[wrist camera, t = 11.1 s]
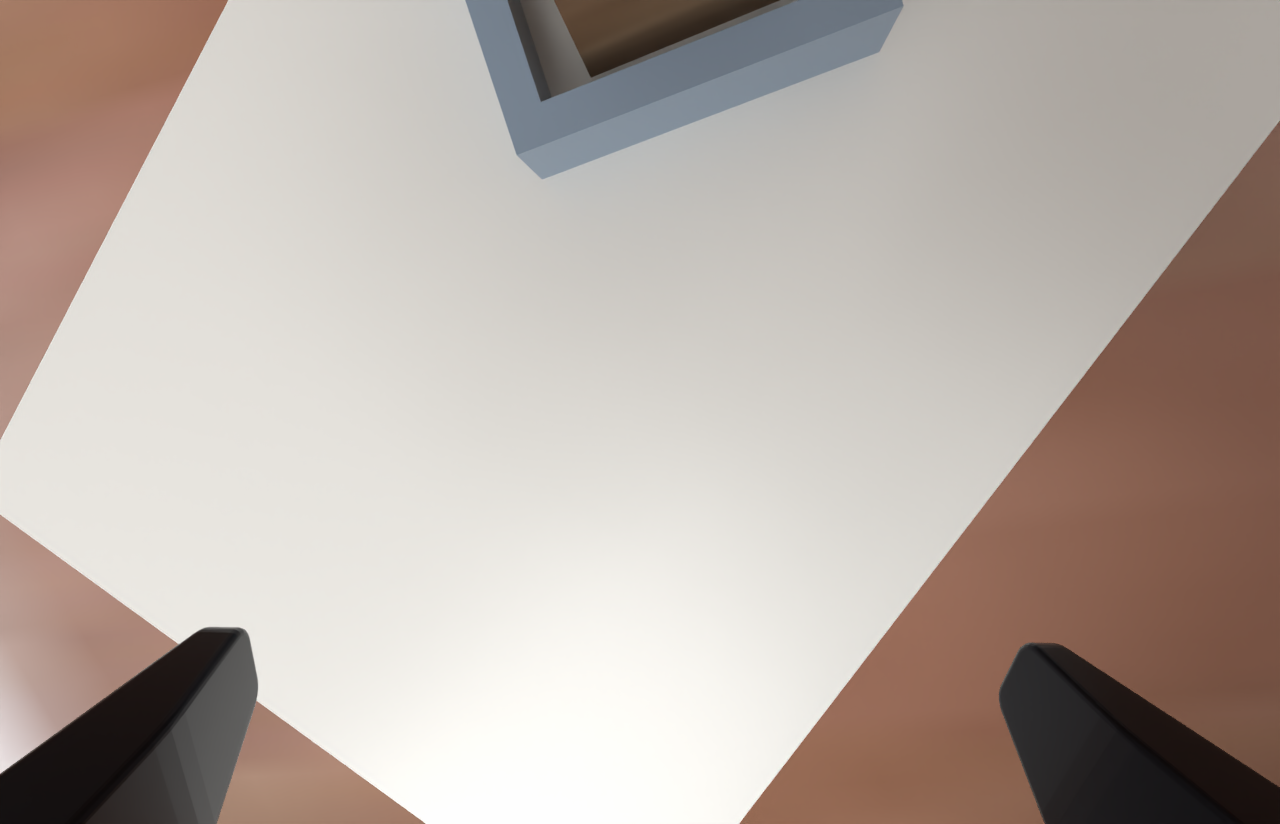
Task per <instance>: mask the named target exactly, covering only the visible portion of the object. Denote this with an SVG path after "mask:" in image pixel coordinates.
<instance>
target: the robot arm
mask: <svg viewBox="0 0 1280 824" xmlns="http://www.w3.org/2000/svg"><path fill="white" fill-rule="evenodd" d="M257 695H258V677H257V672H256V667H255V662H254V657H253V652H252V647H251V642H250V638H249V635H248V633H247V631H246V630H245V629H243V628H240V627H206V628H203V629H200V630H198V631H197V632H195V633H194V634H192V635H191V636H190V637H188V638H187V639H185V640H184V641H183V642H181V643H180V644H178V645H177V646H176V647H174V648H173V649H172V650H170V651H169V652H167V653H166V654H165V655H163V656H162V657H161V658H159V659H158V660H156V661H155V662H154V663H152V664H151V665H150V666H148V667H147V668H145V669H144V670H143V671H141V672H140V673H138V674H137V675H136V676H134V677H133V678H132V679H130V680H129V681H127V682H126V683H125V684H123V685H122V686H121V687H119V688H118V689H116V690H115V691H114V692H112V693H111V694H110V695H108V696H107V697H105V698H104V699H103V700H101V701H100V702H99V703H97V704H96V705H94V706H93V707H92V708H90V709H89V710H87V711H86V712H85V713H83V714H82V715H81V716H79V717H78V718H76V719H75V720H74V721H72V722H71V723H70V724H68V725H67V726H65V727H64V728H63V729H61V730H60V731H59V732H57V733H56V734H54V735H53V736H52V737H50V738H49V739H47V740H46V741H45V742H43V743H42V744H41V745H39V746H38V747H36V748H35V749H34V750H32V751H31V752H30V753H28V754H27V755H25V756H24V757H23V758H21V759H20V760H19V761H17V762H16V763H14V764H13V765H12V766H10V767H9V768H8V769H6V770H5V771H3V772H2V773H1V774H0V824H217V821H218V818H219V815H220V812H221V809H222V806H223V802H224V799H225V796H226V793H227V790H228V787H229V784H230V781H231V778H232V775H233V772H234V769H235V766H236V763H237V759H238V756H239V753H240V750H241V747H242V744H243V741H244V738H245V735H246V732H247V729H248V726H249V723H250V720H251V716H252V713H253V710H254V707H255V704H256V700H257ZM999 702H1000V707H1001V711H1002V714H1003V716H1004V719H1005V721H1006V724H1007V727H1008V729H1009V732H1010V734H1011V737H1012V740H1013V742H1014V745H1015V748H1016V750H1017V753H1018V755H1019V758H1020V761H1021V763H1022V766H1023V769H1024V771H1025V774H1026V776H1027V779H1028V782H1029V784H1030V787H1031V789H1032V792H1033V795H1034V797H1035V800H1036V803H1037V805H1038V808H1039V810H1040V813H1041V816H1042V818H1043V820H1044V823H1045V824H1280V787H1278V786H1277V785H1275V784H1274V783H1272V782H1271V781H1269V780H1268V779H1266V778H1264V777H1263V776H1261V775H1260V774H1258V773H1257V772H1255V771H1254V770H1252V769H1251V768H1249V767H1248V766H1246V765H1245V764H1243V763H1242V762H1240V761H1238V760H1237V759H1235V758H1234V757H1232V756H1231V755H1229V754H1228V753H1226V752H1225V751H1223V750H1222V749H1220V748H1219V747H1217V746H1215V745H1214V744H1212V743H1211V742H1209V741H1208V740H1206V739H1205V738H1203V737H1202V736H1200V735H1199V734H1197V733H1196V732H1194V731H1193V730H1191V729H1190V728H1188V727H1186V726H1185V725H1183V724H1182V723H1180V722H1179V721H1177V720H1176V719H1174V718H1173V717H1171V716H1170V715H1168V714H1167V713H1165V712H1164V711H1162V710H1160V709H1159V708H1157V707H1156V706H1154V705H1153V704H1151V703H1150V702H1148V701H1147V700H1145V699H1144V698H1142V697H1141V696H1139V695H1138V694H1136V693H1134V692H1133V691H1131V690H1130V689H1128V688H1127V687H1125V686H1124V685H1122V684H1121V683H1119V682H1118V681H1116V680H1115V679H1113V678H1112V677H1110V676H1109V675H1107V674H1105V673H1104V672H1102V671H1101V670H1099V669H1098V668H1096V667H1095V666H1093V665H1092V664H1090V663H1089V662H1087V661H1086V660H1084V659H1083V658H1081V657H1079V656H1078V655H1076V654H1075V653H1073V652H1072V651H1070V650H1069V649H1067V648H1066V647H1064V646H1062V645H1059V644H1055V643H1026V644H1025V645H1023V646H1022V647H1021V648H1020V649H1019V650H1018V652H1017V654H1016V656H1015V658H1014V660H1013V662H1012V664H1011V666H1010V668H1009V670H1008V672H1007V674H1006V676H1005V678H1004V680H1003V682H1002V684H1001V687H1000V691H999Z"/></svg>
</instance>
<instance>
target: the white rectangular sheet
mask: <svg viewBox="0 0 1280 824" xmlns="http://www.w3.org/2000/svg"><path fill="white" fill-rule="evenodd" d="M795 1H798V0H780V1H777V2H775V3H772V4H770V5H767V6H765V7H763V8H760V9H758V10H755V11H753V12H750V13H748V14H745V15H743V16H741V17H738V18H736V19H733V20H731V21H728V22H726V23H723V24H721V25H719V26H716V27H714V28H711V29H709V30H706V31H704V32H702V33H699V34H697V35H694V36H692V37H689V38H687V39H684V40H682V41H680V42H677V43H675V44H672V45H670V46H667V47H665V48H662V49H660V50H658V51H655V52H653V53H650V54H648V55H645V56H643V57H640V58H638V59H636V60H633V61H631V62H628V63H626V64H623V65H621V66H618V67H616V68H614V69H611V70H609V71H606V72H604V73H601V74H599V75H597V76H594V77H592V78H591V77H590V75H589V73H588V71H587V69H586V67H585V64H584V62H583V60H582V58H581V56H580V54H579V52H578V50H577V48H576V46H575V44H574V41H573V39H572V37H571V35H570V33H569V31H568V29H567V27H566V25H565V23H564V21H563V19H562V16H561V14H560V12H559V10H558V8H557V6H556V4H555V2H554V0H520V2H521V5H522V8H523V11H524V14H525V18H526V21H527V24H528V27H529V30H530V33H531V36H532V39H533V42H534V45H535V48H536V51H537V54H538V57H539V60H540V63H541V66H542V69H543V72H544V75H545V79H546V82H547V85H548V88H549V91H550V94H551V97H555V96H557V95H560V94H562V93H565V92H567V91H570V90H572V89H575V88H577V87H580V86H582V85H585V84H588V83H590V82H593V81H595V80H598V79H600V78H603V77H605V76H608V75H610V74H613V73H615V72H618V71H620V70H623V69H625V68H628V67H631V66H633V65H636V64H638V63H641V62H643V61H646V60H648V59H651V58H653V57H656V56H658V55H661V54H663V53H666V52H668V51H671V50H674V49H676V48H679V47H681V46H684V45H686V44H689V43H691V42H694V41H696V40H699V39H701V38H704V37H706V36H709V35H712V34H714V33H717V32H719V31H722V30H724V29H727V28H729V27H732V26H734V25H737V24H739V23H742V22H744V21H747V20H749V19H752V18H755V17H757V16H760V15H762V14H765V13H767V12H770V11H772V10H775V9H777V8H780V7H782V6H785V5H787V4H790V3H792V2H795ZM902 2H903V8H902V10H901V12H900V14H899V16H898V17H897V19H896V21H895V23H894V25H893V27H892V29H891V31H890V33H889V35H888V36H887V38H886V40H885V42H884V44H883V46H882V48H881V50H880V52H878V53H875V54H873V55H870V56H867V57H865V58H862V59H859V60H857V61H854V62H852V63H849V64H846V65H844V66H841V67H838V68H836V69H833V70H830V71H828V72H825V73H822V74H820V75H817V76H815V77H812V78H809V79H807V80H804V81H801V82H799V83H796V84H793V85H791V86H788V87H785V88H783V89H780V90H778V91H775V92H772V93H770V94H767V95H764V96H762V97H759V98H756V99H754V100H751V101H748V102H746V103H743V104H741V105H738V106H735V107H733V108H730V109H727V110H725V111H722V112H719V113H717V114H714V115H711V116H709V117H706V118H704V119H701V120H698V121H696V122H693V123H690V124H688V125H685V126H682V127H680V128H677V129H675V130H672V131H669V132H667V133H664V134H661V135H659V136H656V137H653V138H651V139H648V140H645V141H643V142H640V143H638V144H635V145H632V146H630V147H627V148H624V149H622V150H619V151H616V152H614V153H611V154H608V155H606V156H603V157H601V158H598V159H595V160H593V161H590V162H587V163H585V164H582V165H579V166H577V167H574V168H571V169H569V170H566V171H564V172H561V173H558V174H556V175H553V176H550V177H548V178H545V179H541V178H540V177H539V176H538V175H537V174H536V173H535V172H534V171H533V170H532V169H531V168H529V167H528V166H527V165H526V164H525V163H524V162H523V161H522V160H521V159H520V158H519V157H518V156H517V155H516V152H515V149H514V146H513V143H512V140H511V137H510V134H509V131H508V128H507V125H506V122H505V119H504V116H503V113H502V110H501V107H500V104H499V101H498V98H497V95H496V92H495V89H494V86H493V83H492V80H491V77H490V73H489V70H488V67H487V64H486V61H485V58H484V55H483V52H482V49H481V46H480V43H479V40H478V37H477V34H476V31H475V28H474V25H473V22H472V19H471V16H470V13H469V10H468V7H467V4H466V1H465V0H228V2H227V4H226V6H225V8H224V10H223V12H222V14H221V16H220V18H219V20H218V22H217V24H216V25H215V27H214V29H213V31H212V33H211V35H210V37H209V39H208V41H207V43H206V45H205V47H204V49H203V51H202V52H201V54H200V56H199V58H198V60H197V62H196V64H195V66H194V68H193V70H192V72H191V74H190V76H189V78H188V79H187V81H186V83H185V85H184V87H183V89H182V91H181V93H180V95H179V97H178V99H177V101H176V103H175V105H174V106H173V108H172V110H171V112H170V114H169V116H168V118H167V120H166V122H165V124H164V126H163V128H162V130H161V132H160V133H159V135H158V137H157V139H156V141H155V143H154V145H153V147H152V149H151V151H150V153H149V155H148V157H147V159H146V160H145V162H144V164H143V166H142V168H141V170H140V172H139V174H138V176H137V178H136V180H135V182H134V184H133V186H132V187H131V189H130V191H129V193H128V195H127V197H126V199H125V201H124V203H123V205H122V207H121V209H120V211H119V213H118V214H117V216H116V218H115V220H114V222H113V224H112V226H111V228H110V230H109V232H108V234H107V236H106V238H105V240H104V241H103V243H102V245H101V247H100V249H99V251H98V253H97V255H96V257H95V259H94V261H93V263H92V265H91V267H90V268H89V270H88V272H87V274H86V276H85V278H84V280H83V282H82V284H81V286H80V288H79V290H78V292H77V294H76V295H75V297H74V299H73V301H72V303H71V305H70V307H69V309H68V311H67V313H66V315H65V317H64V319H63V321H62V322H61V324H60V326H59V328H58V330H57V332H56V334H55V336H54V338H53V340H52V342H51V344H50V346H49V348H48V349H47V351H46V353H45V355H44V357H43V359H42V361H41V363H40V365H39V367H38V369H37V371H36V373H35V375H34V376H33V378H32V380H31V382H30V384H29V386H28V388H27V390H26V392H25V394H24V396H23V398H22V400H21V402H20V403H19V405H18V407H17V409H16V411H15V413H14V415H13V417H12V419H11V421H10V423H9V425H8V427H7V429H6V430H5V432H4V434H3V436H2V438H1V440H0V515H2V516H3V517H4V518H6V519H7V520H9V521H10V522H11V523H13V524H14V525H15V526H17V527H18V528H20V529H21V530H22V531H24V532H25V533H27V534H28V535H29V536H31V537H32V538H33V539H35V540H36V541H38V542H39V543H40V544H42V545H43V546H44V547H46V548H47V549H49V550H50V551H51V552H53V553H54V554H55V555H57V556H58V557H60V558H61V559H62V560H64V561H65V562H66V563H68V564H69V565H71V566H72V567H73V568H75V569H76V570H77V571H79V572H80V573H82V574H83V575H84V576H86V577H87V578H88V579H90V580H91V581H93V582H94V583H95V584H97V585H98V586H100V587H101V588H102V589H104V590H105V591H106V592H108V593H109V594H111V595H112V596H113V597H115V598H116V599H117V600H119V601H120V602H122V603H123V604H124V605H126V606H127V607H128V608H130V609H131V610H133V611H134V612H135V613H137V614H138V615H139V616H141V617H142V618H144V619H145V620H146V621H148V622H149V623H150V624H152V625H153V626H155V627H156V628H157V629H159V630H160V631H161V632H163V633H164V634H166V635H167V636H168V637H170V638H171V639H173V640H174V641H175V642H177V643H178V644H180V643H181V642H183V641H184V640H185V639H187V638H188V637H190V636H191V635H192V634H194V633H195V632H197V631H198V630H200V629H203V628H206V627H240V628H243V629H245V630H246V631H247V633H248V635H249V638H250V642H251V647H252V652H253V657H254V662H255V667H256V672H257V677H258V695H257V701H258V702H259V703H261V704H262V705H263V706H265V707H266V708H268V709H269V710H270V711H272V712H273V713H274V714H276V715H277V716H279V717H280V718H281V719H283V720H284V721H285V722H287V723H288V724H290V725H291V726H292V727H294V728H295V729H296V730H298V731H299V732H301V733H302V734H303V735H305V736H306V737H307V738H309V739H310V740H312V741H313V742H314V743H316V744H317V745H319V746H320V747H321V748H323V749H324V750H325V751H327V752H328V753H330V754H331V755H332V756H334V757H335V758H336V759H338V760H339V761H341V762H342V763H343V764H345V765H346V766H347V767H349V768H350V769H352V770H353V771H354V772H356V773H357V774H358V775H360V776H361V777H363V778H364V779H365V780H367V781H368V782H369V783H371V784H372V785H374V786H375V787H376V788H378V789H379V790H380V791H382V792H383V793H385V794H386V795H387V796H389V797H390V798H392V799H393V800H394V801H396V802H397V803H398V804H400V805H401V806H403V807H404V808H405V809H407V810H408V811H409V812H411V813H412V814H414V815H415V816H416V817H418V818H419V819H420V820H422V821H423V822H425V823H426V824H739V823H740V822H741V820H742V819H743V818H744V816H745V815H746V814H747V812H748V811H749V810H750V809H751V807H752V806H753V805H754V803H755V802H756V801H757V799H758V798H759V797H760V796H761V794H762V793H763V792H764V790H765V789H766V788H767V786H768V785H769V784H770V783H771V781H772V780H773V779H774V777H775V776H776V775H777V773H778V772H779V771H780V770H781V768H782V767H783V766H784V764H785V763H786V762H787V760H788V759H789V758H790V757H791V755H792V754H793V753H794V751H795V750H796V749H797V747H798V746H799V745H800V744H801V742H802V741H803V740H804V738H805V737H806V736H807V734H808V733H809V732H810V731H811V729H812V728H813V727H814V725H815V724H816V723H817V721H818V720H819V719H820V718H821V716H822V715H823V714H824V712H825V711H826V710H827V708H828V707H829V706H830V705H831V703H832V702H833V701H834V699H835V698H836V697H837V695H838V694H839V693H840V692H841V690H842V689H843V688H844V686H845V685H846V684H847V682H848V681H849V680H850V679H851V677H852V676H853V675H854V673H855V672H856V671H857V669H858V668H859V667H860V666H861V664H862V663H863V662H864V660H865V659H866V658H867V656H868V655H869V654H870V653H871V651H872V650H873V649H874V647H875V646H876V645H877V643H878V642H879V641H880V640H881V638H882V637H883V636H884V634H885V633H886V632H887V630H888V629H889V628H890V627H891V625H892V624H893V623H894V621H895V620H896V619H897V617H898V616H899V615H900V614H901V612H902V611H903V610H904V608H905V607H906V606H907V604H908V603H909V602H910V601H911V599H912V598H913V597H914V595H915V594H916V593H917V591H918V590H919V589H920V588H921V586H922V585H923V584H924V582H925V581H926V580H927V578H928V577H929V576H930V575H931V573H932V572H933V571H934V569H935V568H936V567H937V565H938V564H939V563H940V562H941V560H942V559H943V558H944V556H945V555H946V554H947V552H948V551H949V550H950V549H951V547H952V546H953V545H954V543H955V542H956V541H957V539H958V538H959V537H960V536H961V534H962V533H963V532H964V530H965V529H966V528H967V526H968V525H969V524H970V523H971V521H972V520H973V519H974V517H975V516H976V515H977V513H978V512H979V511H980V510H981V508H982V507H983V506H984V504H985V503H986V502H987V500H988V499H989V498H990V497H991V495H992V494H993V493H994V491H995V490H996V489H997V487H998V486H999V485H1000V484H1001V482H1002V481H1003V480H1004V478H1005V477H1006V476H1007V474H1008V473H1009V472H1010V471H1011V469H1012V468H1013V467H1014V465H1015V464H1016V463H1017V461H1018V460H1019V459H1020V458H1021V456H1022V455H1023V454H1024V452H1025V451H1026V450H1027V448H1028V447H1029V446H1030V445H1031V443H1032V442H1033V441H1034V439H1035V438H1036V437H1037V435H1038V434H1039V433H1040V432H1041V430H1042V429H1043V428H1044V426H1045V425H1046V424H1047V422H1048V421H1049V420H1050V419H1051V417H1052V416H1053V415H1054V413H1055V412H1056V411H1057V409H1058V408H1059V407H1060V406H1061V404H1062V403H1063V402H1064V400H1065V399H1066V398H1067V396H1068V395H1069V394H1070V393H1071V391H1072V390H1073V389H1074V387H1075V386H1076V385H1077V383H1078V382H1079V381H1080V380H1081V378H1082V377H1083V376H1084V374H1085V373H1086V372H1087V370H1088V369H1089V368H1090V367H1091V365H1092V364H1093V363H1094V361H1095V360H1096V359H1097V357H1098V356H1099V355H1100V354H1101V352H1102V351H1103V350H1104V348H1105V347H1106V346H1107V344H1108V343H1109V342H1110V341H1111V339H1112V338H1113V337H1114V335H1115V334H1116V333H1117V331H1118V330H1119V329H1120V328H1121V326H1122V325H1123V324H1124V322H1125V321H1126V320H1127V318H1128V317H1129V316H1130V315H1131V313H1132V312H1133V311H1134V309H1135V308H1136V307H1137V305H1138V304H1139V303H1140V302H1141V300H1142V299H1143V298H1144V296H1145V295H1146V294H1147V292H1148V291H1149V290H1150V289H1151V287H1152V286H1153V285H1154V283H1155V282H1156V281H1157V279H1158V278H1159V277H1160V276H1161V274H1162V273H1163V272H1164V270H1165V269H1166V268H1167V266H1168V265H1169V264H1170V263H1171V261H1172V260H1173V259H1174V257H1175V256H1176V255H1177V253H1178V252H1179V251H1180V250H1181V248H1182V247H1183V246H1184V244H1185V243H1186V242H1187V240H1188V239H1189V238H1190V237H1191V235H1192V234H1193V233H1194V231H1195V230H1196V229H1197V227H1198V226H1199V225H1200V224H1201V222H1202V221H1203V220H1204V218H1205V217H1206V216H1207V214H1208V213H1209V212H1210V211H1211V209H1212V208H1213V207H1214V205H1215V204H1216V203H1217V201H1218V200H1219V199H1220V198H1221V196H1222V195H1223V194H1224V192H1225V191H1226V190H1227V188H1228V187H1229V186H1230V185H1231V183H1232V182H1233V181H1234V179H1235V178H1236V177H1237V175H1238V174H1239V173H1240V172H1241V170H1242V169H1243V168H1244V166H1245V165H1246V164H1247V162H1248V161H1249V160H1250V159H1251V157H1252V156H1253V155H1254V153H1255V152H1256V151H1257V149H1258V148H1259V147H1260V146H1261V144H1262V143H1263V142H1264V140H1265V139H1266V138H1267V136H1268V135H1269V134H1270V133H1271V131H1272V130H1273V129H1274V127H1275V126H1276V125H1277V123H1278V122H1279V121H1280V0H902Z"/></svg>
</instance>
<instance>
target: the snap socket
mask: <svg viewBox="0 0 1280 824" xmlns="http://www.w3.org/2000/svg"><path fill="white" fill-rule="evenodd" d="M465 1H466V4H467V7H468V10H469V13H470V16H471V19H472V22H473V25H474V28H475V31H476V34H477V37H478V40H479V43H480V46H481V49H482V52H483V55H484V58H485V61H486V64H487V67H488V70H489V73H490V77H491V80H492V83H493V86H494V89H495V92H496V95H497V98H498V101H499V104H500V107H501V110H502V113H503V116H504V119H505V122H506V125H507V128H508V131H509V134H510V137H511V140H512V143H513V146H514V149H515V152H516V155H517V156H518V157H519V158H520V159H521V160H522V161H523V162H524V163H525V164H526V165H527V166H528V167H529V168H531V169H532V170H533V171H534V172H535V173H536V174H537V175H538V176H539V177H540V178H541V179H545V178H548V177H550V176H553V175H556V174H558V173H561V172H564V171H566V170H569V169H571V168H574V167H577V166H579V165H582V164H585V163H587V162H590V161H593V160H595V159H598V158H601V157H603V156H606V155H608V154H611V153H614V152H616V151H619V150H622V149H624V148H627V147H630V146H632V145H635V144H638V143H640V142H643V141H645V140H648V139H651V138H653V137H656V136H659V135H661V134H664V133H667V132H669V131H672V130H675V129H677V128H680V127H682V126H685V125H688V124H690V123H693V122H696V121H698V120H701V119H704V118H706V117H709V116H711V115H714V114H717V113H719V112H722V111H725V110H727V109H730V108H733V107H735V106H738V105H741V104H743V103H746V102H748V101H751V100H754V99H756V98H759V97H762V96H764V95H767V94H770V93H772V92H775V91H778V90H780V89H783V88H785V87H788V86H791V85H793V84H796V83H799V82H801V81H804V80H807V79H809V78H812V77H815V76H817V75H820V74H822V73H825V72H828V71H830V70H833V69H836V68H838V67H841V66H844V65H846V64H849V63H852V62H854V61H857V60H859V59H862V58H865V57H867V56H870V55H873V54H875V53H878V52H880V50H881V48H882V46H883V44H884V42H885V40H886V38H887V36H888V35H889V33H890V31H891V29H892V27H893V25H894V23H895V21H896V19H897V17H898V16H899V14H900V12H901V10H902V8H903V2H902V0H798V1H795V2H792V3H790V4H787V5H785V6H782V7H780V8H777V9H775V10H772V11H770V12H767V13H765V14H762V15H760V16H757V17H755V18H752V19H749V20H747V21H744V22H742V23H739V24H737V25H734V26H732V27H729V28H727V29H724V30H722V31H719V32H717V33H714V34H712V35H709V36H706V37H704V38H701V39H699V40H696V41H694V42H691V43H689V44H686V45H684V46H681V47H679V48H676V49H674V50H671V51H668V52H666V53H663V54H661V55H658V56H656V57H653V58H651V59H648V60H646V61H643V62H641V63H638V64H636V65H633V66H631V67H628V68H625V69H623V70H620V71H618V72H615V73H613V74H610V75H608V76H605V77H603V78H600V79H598V80H595V81H593V82H590V83H588V84H585V85H582V86H580V87H577V88H575V89H572V90H570V91H567V92H565V93H562V94H560V95H557V96H555V97H551V94H550V91H549V88H548V85H547V82H546V79H545V75H544V72H543V69H542V66H541V63H540V60H539V57H538V54H537V51H536V48H535V45H534V42H533V39H532V36H531V33H530V30H529V27H528V24H527V21H526V18H525V14H524V11H523V8H522V5H521V2H520V0H465Z"/></svg>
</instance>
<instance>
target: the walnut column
mask: <svg viewBox="0 0 1280 824" xmlns="http://www.w3.org/2000/svg"><path fill="white" fill-rule="evenodd" d="M777 1H780V0H554V2H555V4H556V6H557V8H558V10H559V12H560V14H561V16H562V19H563V21H564V23H565V25H566V27H567V29H568V31H569V33H570V35H571V37H572V39H573V41H574V44H575V46H576V48H577V50H578V52H579V54H580V56H581V58H582V60H583V62H584V64H585V67H586V69H587V71H588V73H589V75H590V77H591V78H592V77H594V76H597V75H599V74H601V73H604V72H606V71H609V70H611V69H614V68H616V67H618V66H621V65H623V64H626V63H628V62H631V61H633V60H636V59H638V58H640V57H643V56H645V55H648V54H650V53H653V52H655V51H658V50H660V49H662V48H665V47H667V46H670V45H672V44H675V43H677V42H680V41H682V40H684V39H687V38H689V37H692V36H694V35H697V34H699V33H702V32H704V31H706V30H709V29H711V28H714V27H716V26H719V25H721V24H723V23H726V22H728V21H731V20H733V19H736V18H738V17H741V16H743V15H745V14H748V13H750V12H753V11H755V10H758V9H760V8H763V7H765V6H767V5H770V4H772V3H775V2H777Z"/></svg>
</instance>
